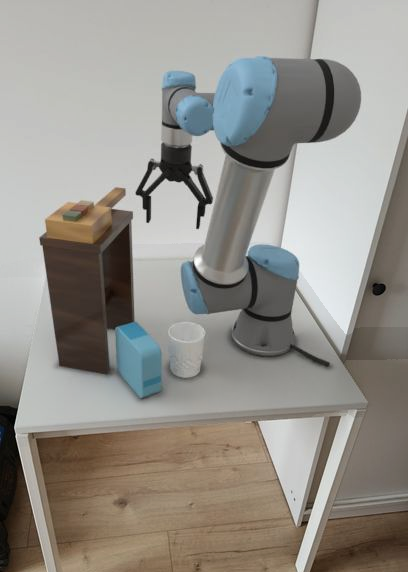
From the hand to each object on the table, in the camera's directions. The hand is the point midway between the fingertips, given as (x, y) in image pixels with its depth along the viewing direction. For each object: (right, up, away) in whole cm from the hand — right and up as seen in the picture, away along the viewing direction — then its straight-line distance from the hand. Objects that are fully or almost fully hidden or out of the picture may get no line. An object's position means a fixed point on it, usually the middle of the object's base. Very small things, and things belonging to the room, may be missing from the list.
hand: (173, 224), depth 136 cm
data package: (-6, -41, -28) cm, 51 cm away
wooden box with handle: (-14, -6, -32) cm, 35 cm away
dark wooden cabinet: (-16, -33, -19) cm, 42 cm away
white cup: (+4, -39, -24) cm, 46 cm away
